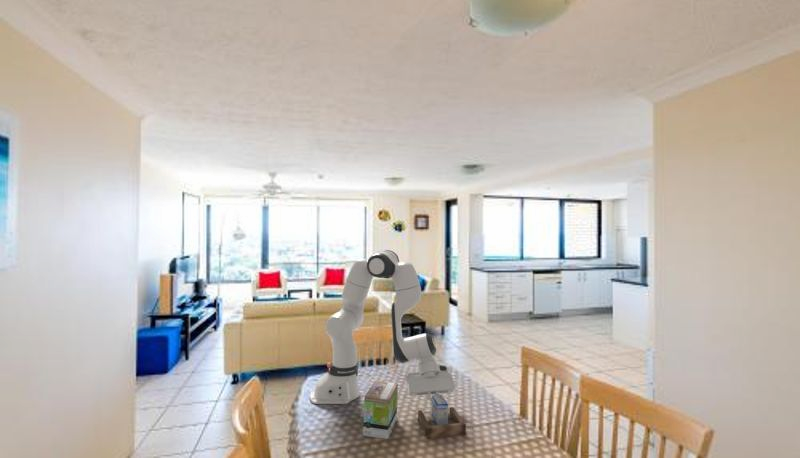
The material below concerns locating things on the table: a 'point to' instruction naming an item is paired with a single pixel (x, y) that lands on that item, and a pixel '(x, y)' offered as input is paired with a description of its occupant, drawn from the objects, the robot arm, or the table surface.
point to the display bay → (443, 426)
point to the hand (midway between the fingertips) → (434, 404)
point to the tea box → (380, 409)
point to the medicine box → (439, 410)
